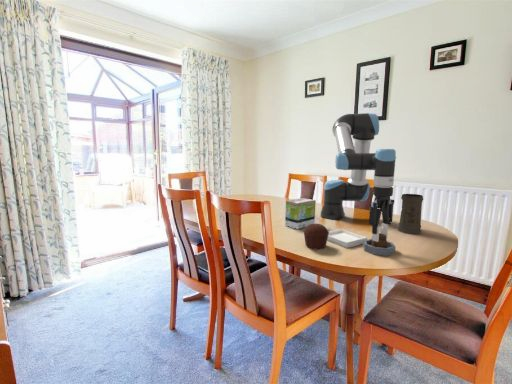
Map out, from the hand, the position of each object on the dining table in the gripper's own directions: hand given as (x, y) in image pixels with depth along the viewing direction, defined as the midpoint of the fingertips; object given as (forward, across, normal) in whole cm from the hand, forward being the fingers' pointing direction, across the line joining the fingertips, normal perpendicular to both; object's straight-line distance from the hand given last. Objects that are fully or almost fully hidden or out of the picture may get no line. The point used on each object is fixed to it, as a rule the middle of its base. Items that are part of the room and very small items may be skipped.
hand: (379, 239), depth 119 cm
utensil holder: (+5, 0, 0) cm, 5 cm away
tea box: (+5, -4, +48) cm, 48 cm away
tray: (+5, -3, +17) cm, 18 cm away
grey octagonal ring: (+5, 0, 0) cm, 5 cm away
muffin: (+5, -20, +18) cm, 27 cm away
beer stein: (+5, +40, +11) cm, 42 cm away
